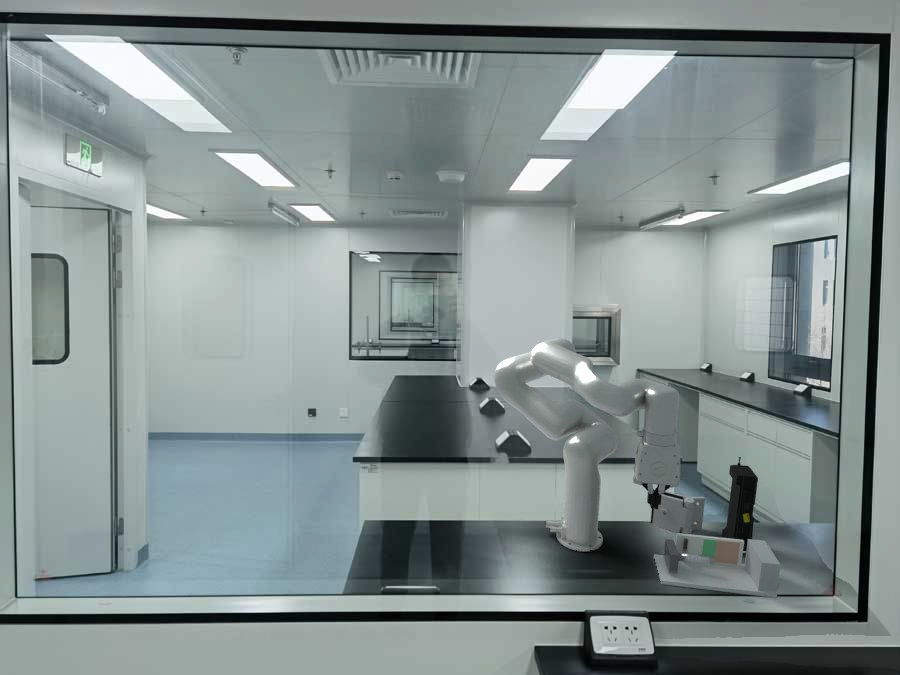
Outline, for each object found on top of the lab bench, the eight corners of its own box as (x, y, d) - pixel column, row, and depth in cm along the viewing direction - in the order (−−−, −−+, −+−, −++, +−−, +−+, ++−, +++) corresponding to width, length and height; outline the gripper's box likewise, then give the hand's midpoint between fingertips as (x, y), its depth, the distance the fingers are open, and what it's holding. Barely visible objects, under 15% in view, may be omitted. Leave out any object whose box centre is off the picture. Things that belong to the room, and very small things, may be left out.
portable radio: (753, 557, 146) (765, 470, 141) (728, 555, 147) (739, 468, 142) (744, 541, 153) (755, 457, 148) (720, 538, 155) (730, 455, 149)
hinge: (701, 528, 160) (705, 496, 158) (702, 538, 155) (706, 505, 153) (650, 518, 165) (653, 488, 163) (650, 528, 160) (652, 496, 158)
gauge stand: (661, 584, 135) (664, 553, 133) (653, 557, 146) (656, 528, 144) (776, 597, 130) (781, 565, 129) (760, 569, 141) (764, 539, 139)
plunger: (668, 572, 136) (670, 552, 135) (663, 555, 143) (665, 536, 142) (716, 578, 134) (718, 558, 133) (708, 560, 141) (710, 541, 140)
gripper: (628, 440, 131) (624, 511, 135) (695, 445, 128) (688, 517, 132) (625, 429, 138) (620, 496, 142) (688, 433, 136) (682, 501, 139)
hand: (653, 506), depth 137 cm, fingers closed
